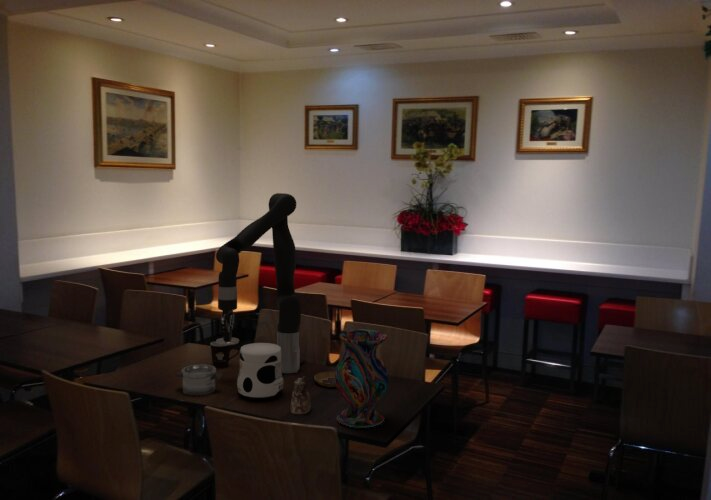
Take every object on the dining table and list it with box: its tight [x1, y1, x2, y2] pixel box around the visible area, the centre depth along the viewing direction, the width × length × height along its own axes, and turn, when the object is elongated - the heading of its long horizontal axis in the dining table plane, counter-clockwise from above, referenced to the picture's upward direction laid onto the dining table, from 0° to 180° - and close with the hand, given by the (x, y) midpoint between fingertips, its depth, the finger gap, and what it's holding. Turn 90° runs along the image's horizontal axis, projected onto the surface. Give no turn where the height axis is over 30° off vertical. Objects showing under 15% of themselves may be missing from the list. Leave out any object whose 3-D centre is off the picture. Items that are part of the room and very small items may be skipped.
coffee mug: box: [210, 341, 241, 369], centre depth 266 cm, size 12×9×10 cm
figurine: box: [290, 375, 312, 415], centre depth 219 cm, size 7×7×12 cm
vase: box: [335, 328, 390, 429], centre depth 211 cm, size 18×18×30 cm
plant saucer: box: [313, 371, 337, 388], centre depth 250 cm, size 15×15×3 cm
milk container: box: [236, 342, 284, 400], centre depth 233 cm, size 17×17×18 cm
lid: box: [216, 331, 240, 346], centre depth 247 cm, size 9×9×4 cm
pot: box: [175, 363, 223, 397], centre depth 236 cm, size 17×12×8 cm
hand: (227, 339), depth 247 cm, fingers closed on lid, 2 cm apart
